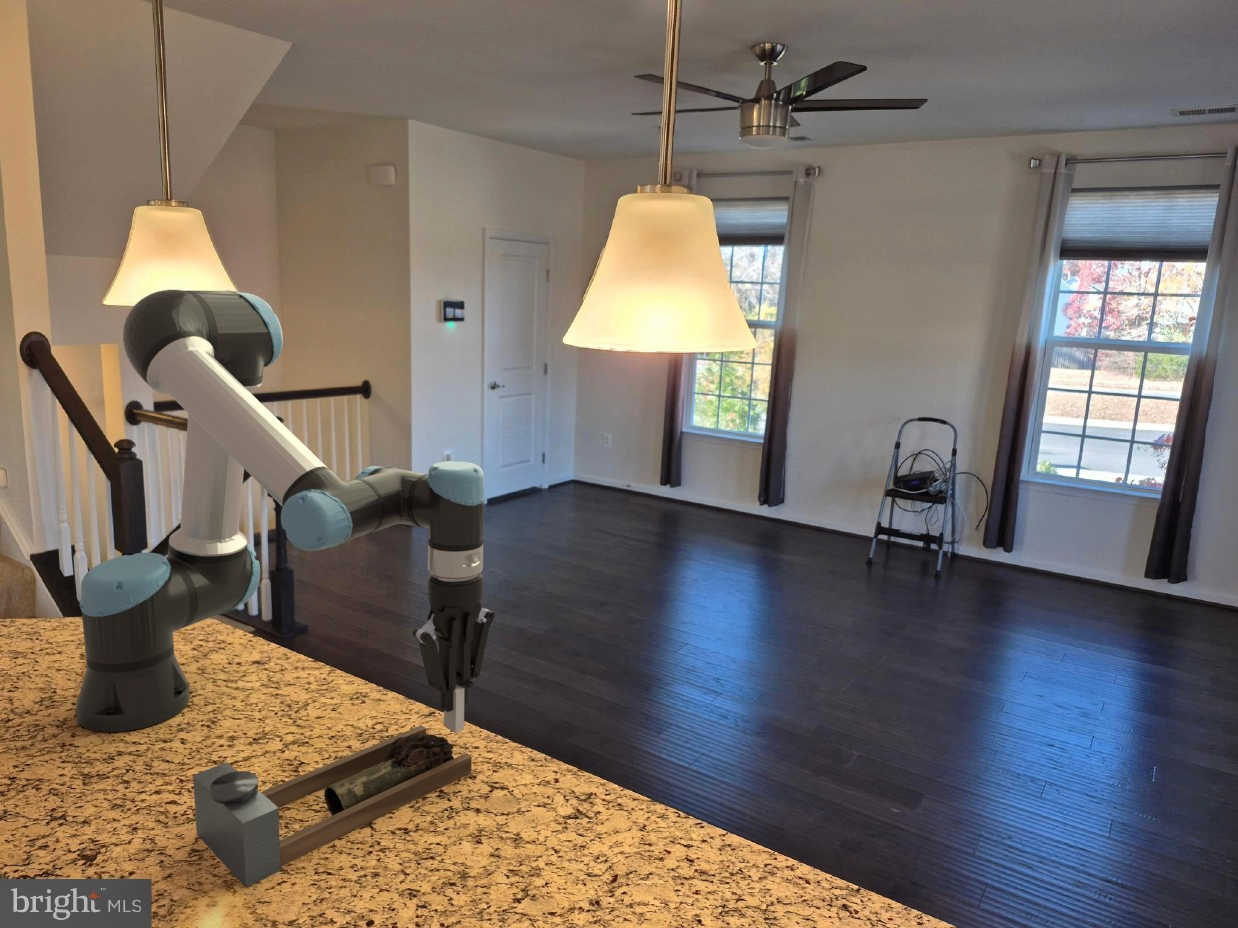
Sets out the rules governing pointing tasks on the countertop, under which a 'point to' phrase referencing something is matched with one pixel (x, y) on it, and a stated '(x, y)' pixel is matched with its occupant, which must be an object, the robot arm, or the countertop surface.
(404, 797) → the channel rails
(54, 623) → the countertop surface
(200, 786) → the block
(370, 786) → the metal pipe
